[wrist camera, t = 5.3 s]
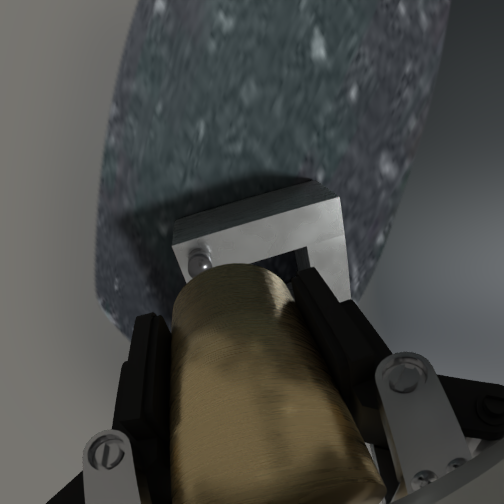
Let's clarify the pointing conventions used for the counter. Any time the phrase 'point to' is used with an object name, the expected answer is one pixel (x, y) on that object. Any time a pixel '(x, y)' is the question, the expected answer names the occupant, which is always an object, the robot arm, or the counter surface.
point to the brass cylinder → (257, 401)
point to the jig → (269, 234)
